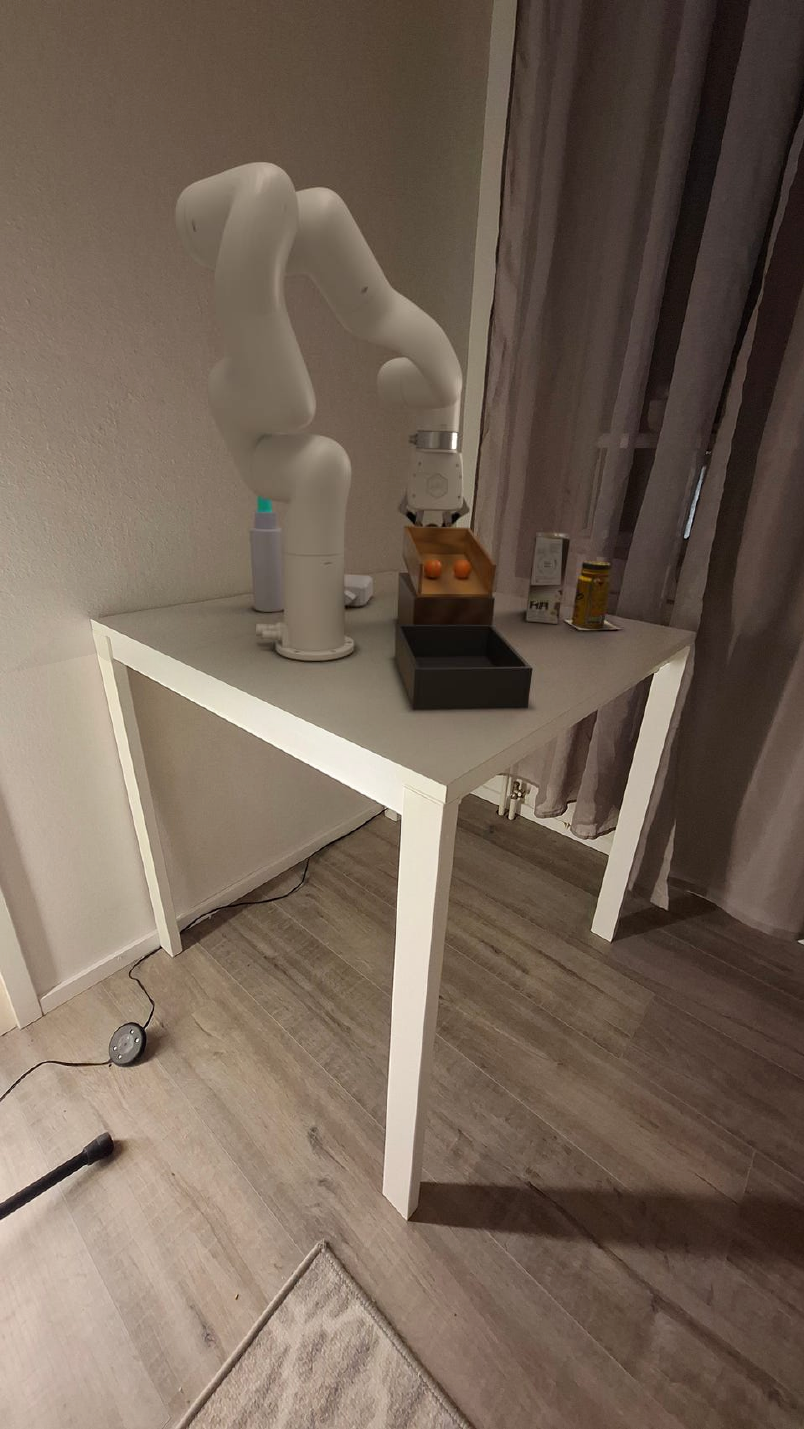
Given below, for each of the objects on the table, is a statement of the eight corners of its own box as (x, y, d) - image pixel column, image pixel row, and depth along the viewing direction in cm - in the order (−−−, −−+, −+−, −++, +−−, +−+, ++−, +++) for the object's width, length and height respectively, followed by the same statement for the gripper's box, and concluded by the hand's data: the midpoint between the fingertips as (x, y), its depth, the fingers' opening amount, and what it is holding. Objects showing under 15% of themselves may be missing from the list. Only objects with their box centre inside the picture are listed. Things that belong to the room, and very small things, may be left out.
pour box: (459, 546, 119) (462, 517, 117) (491, 597, 98) (496, 564, 95) (398, 545, 118) (399, 516, 115) (417, 597, 96) (419, 563, 93)
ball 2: (453, 581, 103) (456, 570, 100) (451, 567, 104) (454, 555, 101) (470, 582, 103) (474, 570, 100) (468, 567, 104) (472, 555, 101)
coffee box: (558, 624, 119) (571, 538, 112) (525, 621, 120) (535, 536, 113) (557, 613, 127) (568, 532, 120) (525, 610, 128) (535, 530, 121)
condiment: (563, 620, 122) (572, 559, 117) (603, 620, 123) (614, 559, 118) (579, 631, 115) (589, 566, 110) (621, 630, 116) (632, 566, 111)
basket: (412, 709, 78) (414, 669, 76) (394, 658, 97) (395, 624, 94) (527, 707, 80) (532, 668, 78) (488, 657, 99) (492, 624, 96)
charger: (313, 611, 121) (331, 595, 135) (359, 614, 120) (372, 597, 134) (313, 587, 119) (330, 573, 133) (360, 590, 118) (372, 575, 132)
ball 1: (423, 581, 102) (426, 570, 99) (422, 566, 103) (424, 555, 100) (441, 581, 102) (444, 570, 100) (439, 567, 104) (442, 555, 101)
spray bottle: (291, 609, 122) (287, 492, 114) (268, 614, 118) (261, 493, 109) (271, 603, 126) (265, 489, 117) (247, 608, 121) (240, 490, 112)
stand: (411, 652, 100) (414, 597, 96) (397, 619, 118) (398, 572, 114) (489, 652, 101) (494, 598, 98) (463, 619, 119) (467, 573, 116)
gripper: (392, 441, 105) (389, 551, 112) (487, 445, 107) (478, 552, 114) (387, 441, 112) (385, 545, 119) (477, 444, 114) (469, 546, 121)
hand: (431, 547), depth 117 cm, fingers closed on pour box, 3 cm apart
